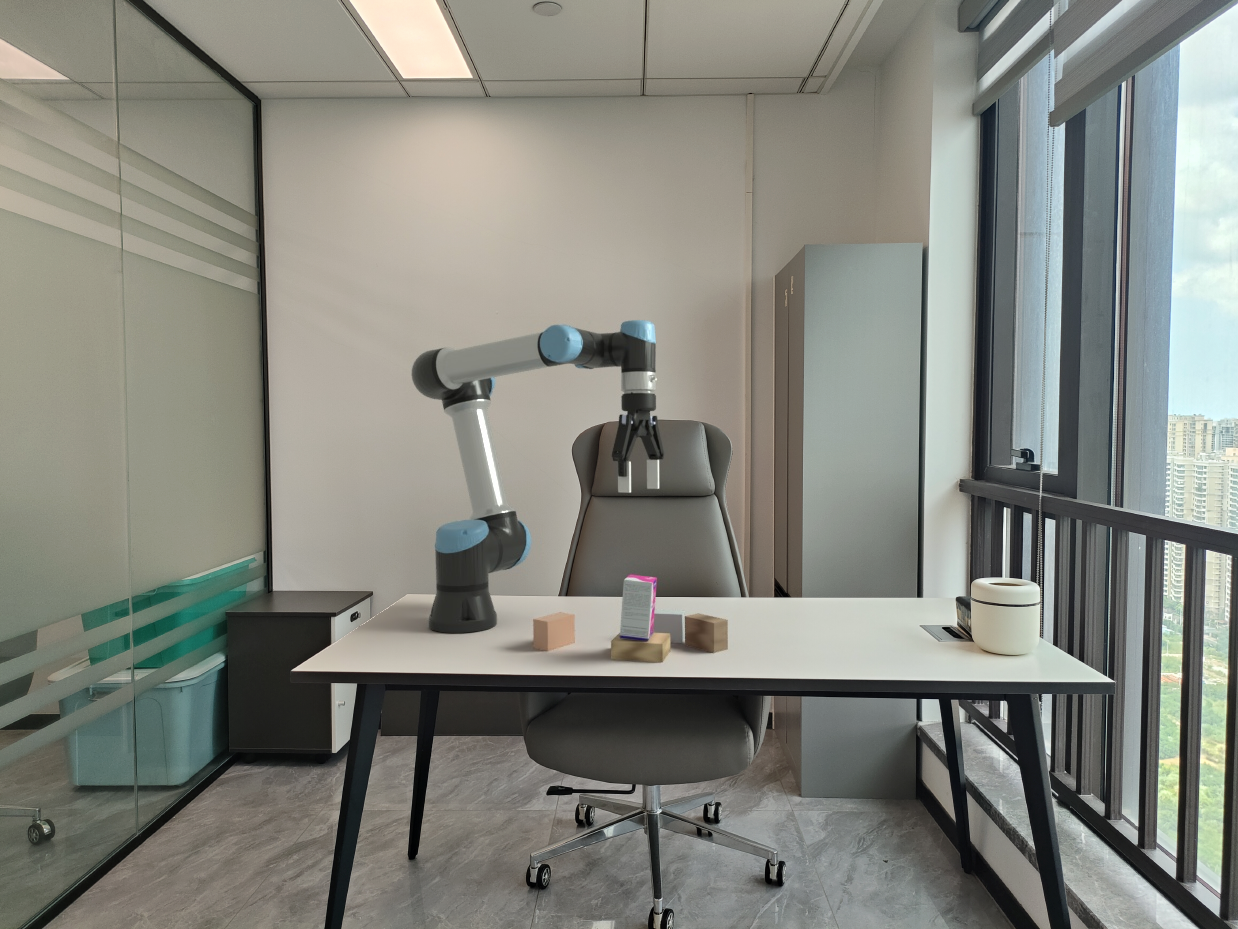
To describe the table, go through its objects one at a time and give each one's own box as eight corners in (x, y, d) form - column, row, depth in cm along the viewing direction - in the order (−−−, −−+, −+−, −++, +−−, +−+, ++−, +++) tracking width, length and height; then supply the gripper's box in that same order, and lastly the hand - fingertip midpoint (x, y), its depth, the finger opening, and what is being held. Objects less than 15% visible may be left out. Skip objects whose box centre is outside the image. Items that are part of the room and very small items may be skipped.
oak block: (611, 661, 149) (610, 641, 149) (621, 650, 157) (621, 631, 156) (662, 665, 146) (662, 643, 146) (670, 653, 154) (670, 633, 154)
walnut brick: (684, 645, 159) (684, 616, 158) (698, 642, 161) (698, 613, 161) (714, 653, 152) (714, 623, 152) (727, 649, 155) (727, 619, 155)
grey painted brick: (643, 641, 162) (643, 613, 162) (647, 637, 166) (647, 608, 165) (682, 643, 160) (682, 614, 160) (684, 638, 164) (684, 610, 164)
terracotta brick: (547, 651, 155) (547, 621, 154) (533, 648, 157) (533, 619, 157) (574, 643, 161) (574, 614, 161) (560, 640, 163) (560, 612, 163)
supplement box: (649, 642, 148) (652, 582, 147) (618, 638, 149) (621, 579, 148) (654, 633, 153) (657, 576, 153) (625, 630, 155) (627, 573, 154)
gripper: (626, 389, 157) (627, 494, 157) (678, 395, 178) (678, 487, 179) (594, 390, 160) (595, 493, 161) (648, 396, 182) (649, 486, 183)
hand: (639, 490), depth 170 cm, fingers open, 13 cm apart
